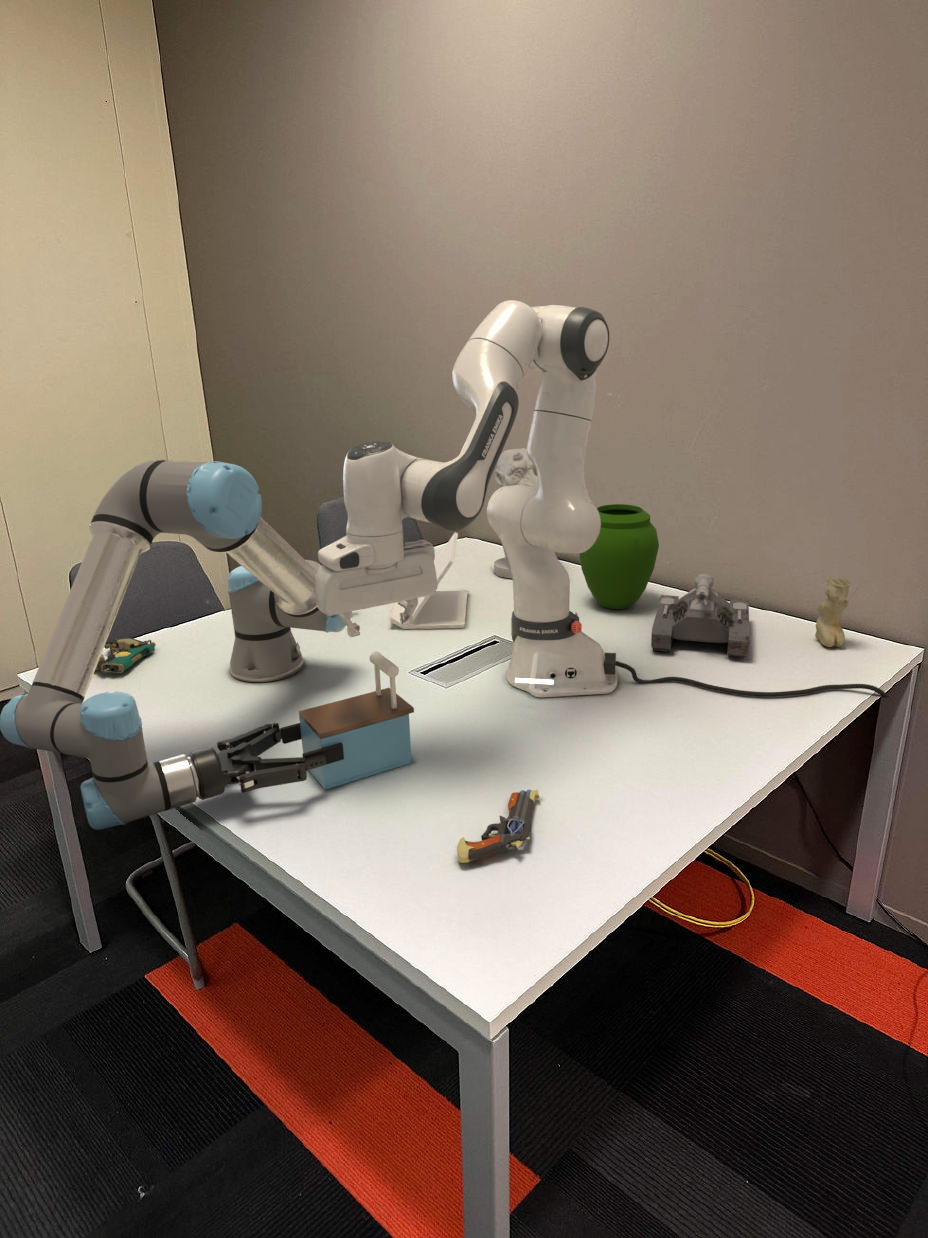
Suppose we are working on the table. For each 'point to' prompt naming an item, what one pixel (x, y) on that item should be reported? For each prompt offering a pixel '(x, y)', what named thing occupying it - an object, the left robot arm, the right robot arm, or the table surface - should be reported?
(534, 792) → the toy gun
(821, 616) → the sculpture
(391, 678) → the lid
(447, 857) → the table surface
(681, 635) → the toy
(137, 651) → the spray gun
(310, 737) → the chest
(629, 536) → the vase
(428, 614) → the tablet stand
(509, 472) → the bust sculpture
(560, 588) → the right robot arm
